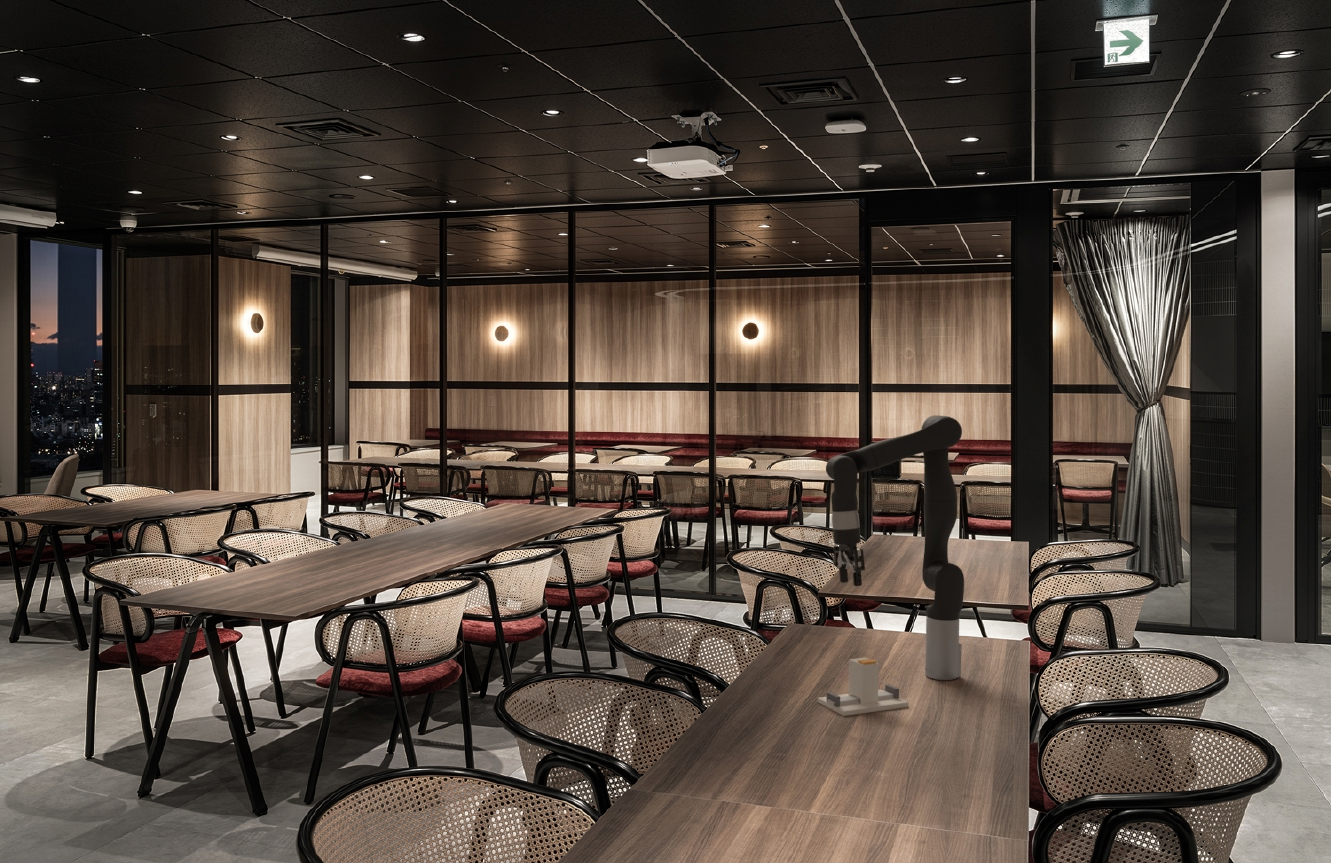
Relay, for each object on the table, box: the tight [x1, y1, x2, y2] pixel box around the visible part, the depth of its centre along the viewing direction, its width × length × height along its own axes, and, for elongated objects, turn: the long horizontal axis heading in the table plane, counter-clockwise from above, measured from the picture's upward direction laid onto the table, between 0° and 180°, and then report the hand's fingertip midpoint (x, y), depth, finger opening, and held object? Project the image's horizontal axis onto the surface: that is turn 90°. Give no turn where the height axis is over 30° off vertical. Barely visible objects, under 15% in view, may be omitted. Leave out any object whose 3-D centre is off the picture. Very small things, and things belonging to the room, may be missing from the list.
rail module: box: [847, 657, 880, 704], centre depth 264 cm, size 5×6×11 cm
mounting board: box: [817, 683, 910, 717], centre depth 264 cm, size 20×12×4 cm, turn 114°
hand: (850, 584), depth 284 cm, fingers open, 8 cm apart
